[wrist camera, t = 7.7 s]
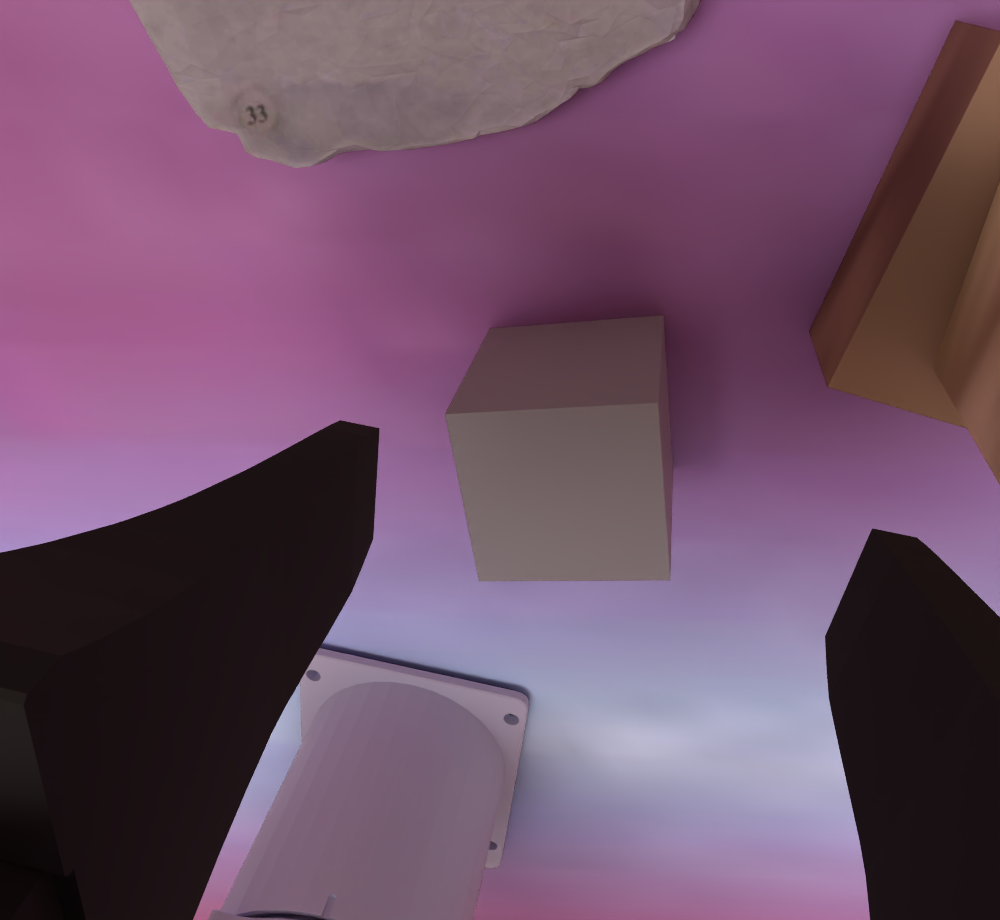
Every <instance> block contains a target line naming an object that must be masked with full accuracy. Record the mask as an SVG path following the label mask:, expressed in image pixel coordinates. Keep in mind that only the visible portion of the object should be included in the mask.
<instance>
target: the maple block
mask: <svg viewBox="0 0 1000 920" xmlns="http://www.w3.org/2000/svg"><path fill="white" fill-rule="evenodd" d="M933 370H934V371H935V373H936V375H937V377H938V378H939V380H940V382H941V383H942V385H943V387H944V389H945V390H946V392H947V394H948V396H949V397H950V399H951V401H952V403H953V404H954V406H955V408H956V410H957V411H958V413H959V415H960V417H961V418H962V420H963V422H964V423H965V425H966V427H967V429H968V430H969V432H970V434H971V436H972V437H973V439H974V441H975V443H976V444H977V446H978V448H979V450H980V451H981V453H982V455H983V457H984V458H985V460H986V462H987V464H988V465H989V467H990V469H991V470H992V472H993V474H994V476H995V477H996V479H997V481H998V483H999V484H1000V182H999V185H998V188H997V191H996V193H995V196H994V199H993V202H992V204H991V207H990V210H989V213H988V215H987V218H986V221H985V224H984V226H983V229H982V232H981V235H980V238H979V240H978V243H977V246H976V249H975V251H974V254H973V257H972V260H971V262H970V265H969V268H968V271H967V274H966V276H965V279H964V282H963V285H962V287H961V290H960V293H959V296H958V298H957V301H956V304H955V307H954V309H953V312H952V315H951V318H950V321H949V323H948V326H947V329H946V332H945V334H944V337H943V340H942V343H941V345H940V348H939V351H938V354H937V357H936V359H935V362H934V365H933Z"/></svg>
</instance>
